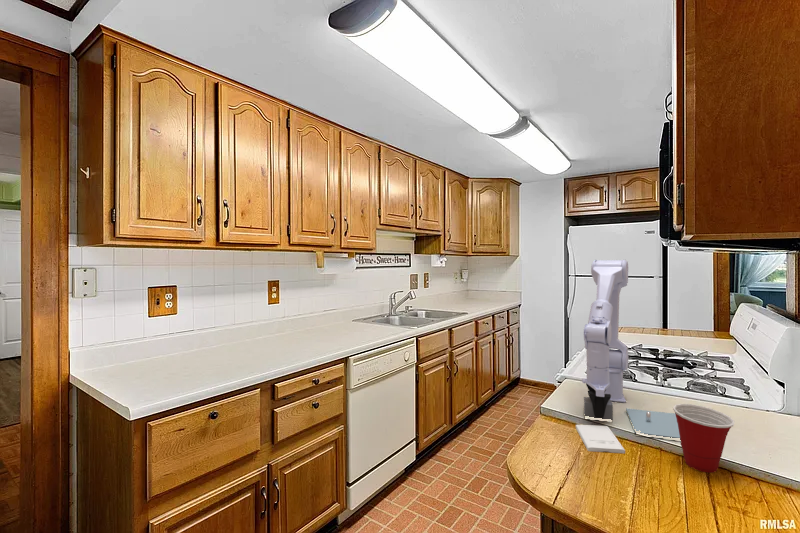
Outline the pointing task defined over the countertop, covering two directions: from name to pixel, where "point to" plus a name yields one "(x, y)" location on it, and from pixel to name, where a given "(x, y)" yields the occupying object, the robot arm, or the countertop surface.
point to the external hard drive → (599, 439)
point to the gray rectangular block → (589, 411)
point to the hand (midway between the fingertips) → (597, 412)
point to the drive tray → (654, 422)
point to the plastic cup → (702, 435)
